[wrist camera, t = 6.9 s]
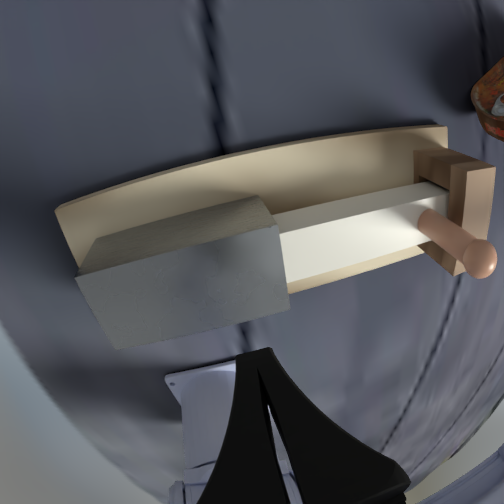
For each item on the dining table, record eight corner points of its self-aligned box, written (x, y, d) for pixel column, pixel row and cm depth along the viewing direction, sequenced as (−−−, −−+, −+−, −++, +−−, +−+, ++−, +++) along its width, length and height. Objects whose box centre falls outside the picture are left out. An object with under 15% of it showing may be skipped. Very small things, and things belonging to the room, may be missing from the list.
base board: (433, 241, 23) (440, 246, 23) (117, 326, 21) (115, 335, 21) (438, 124, 18) (447, 126, 18) (60, 205, 16) (54, 210, 16)
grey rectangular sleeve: (271, 267, 20) (290, 309, 16) (125, 303, 19) (115, 350, 16) (257, 194, 18) (277, 224, 14) (95, 238, 17) (74, 277, 13)
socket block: (438, 232, 22) (481, 264, 17) (410, 240, 22) (453, 276, 17) (443, 146, 18) (495, 166, 14) (413, 150, 18) (467, 171, 14)
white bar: (435, 218, 20) (515, 275, 13) (216, 276, 19) (236, 386, 11) (437, 179, 18) (527, 228, 11) (203, 232, 17) (217, 334, 10)
